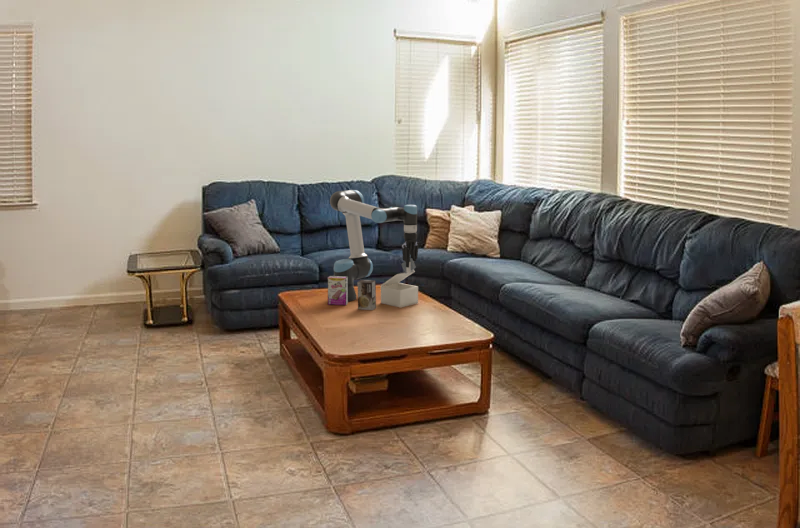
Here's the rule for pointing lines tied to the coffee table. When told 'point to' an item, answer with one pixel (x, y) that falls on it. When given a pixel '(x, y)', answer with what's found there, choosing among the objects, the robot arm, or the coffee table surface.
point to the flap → (401, 276)
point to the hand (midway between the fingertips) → (410, 272)
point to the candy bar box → (337, 290)
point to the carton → (399, 294)
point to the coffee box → (366, 294)
